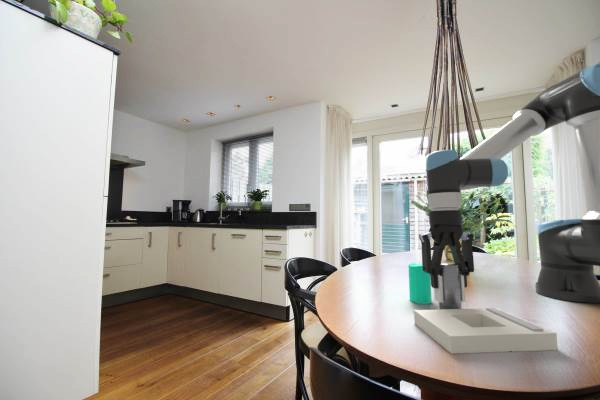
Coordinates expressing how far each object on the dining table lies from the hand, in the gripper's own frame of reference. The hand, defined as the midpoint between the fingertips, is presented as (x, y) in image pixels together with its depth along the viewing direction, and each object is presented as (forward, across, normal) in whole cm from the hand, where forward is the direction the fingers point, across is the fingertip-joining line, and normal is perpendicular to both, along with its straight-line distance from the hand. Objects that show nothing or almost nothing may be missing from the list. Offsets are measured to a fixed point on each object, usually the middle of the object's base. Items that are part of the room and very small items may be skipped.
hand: (449, 300), depth 69 cm
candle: (+3, +2, -11) cm, 12 cm away
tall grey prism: (+3, 0, 0) cm, 3 cm away
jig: (+3, +2, +13) cm, 14 cm away
